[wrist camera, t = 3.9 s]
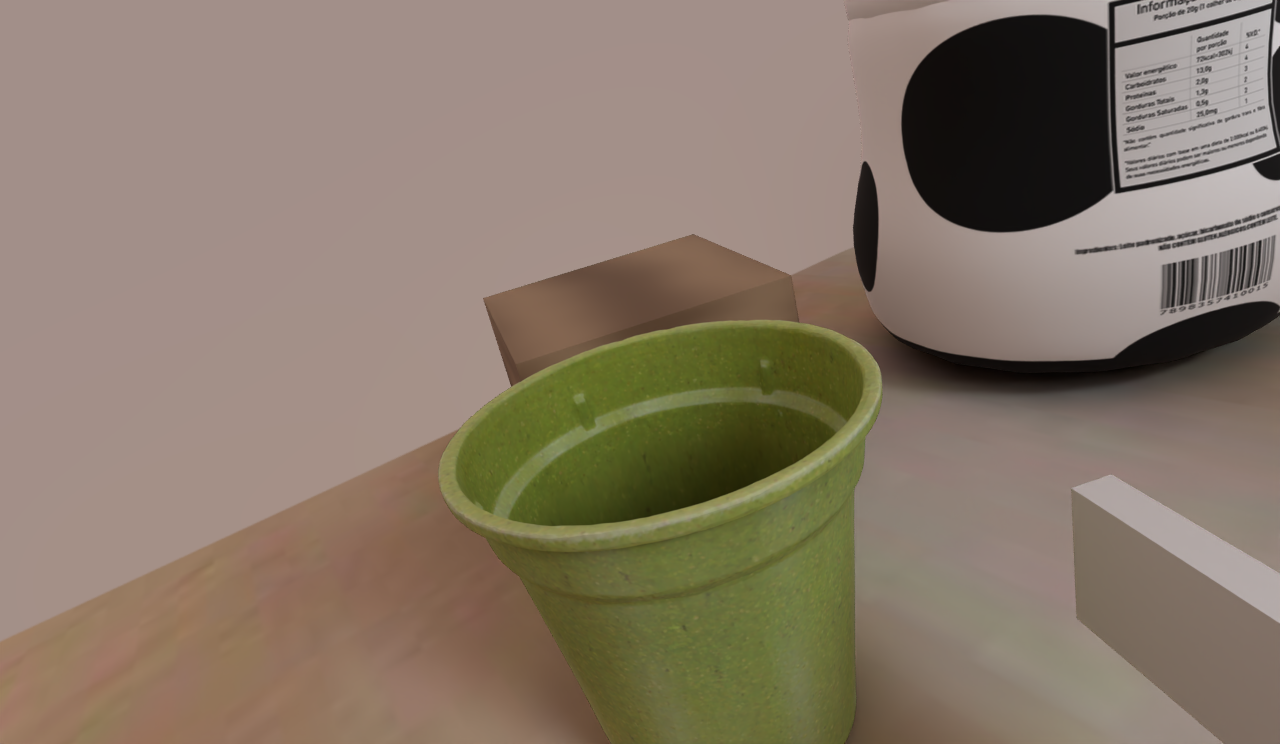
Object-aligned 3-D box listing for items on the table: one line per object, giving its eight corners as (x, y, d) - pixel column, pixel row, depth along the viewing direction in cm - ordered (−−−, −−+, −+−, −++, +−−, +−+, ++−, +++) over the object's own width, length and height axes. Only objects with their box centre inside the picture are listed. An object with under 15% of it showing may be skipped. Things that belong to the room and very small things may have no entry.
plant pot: (513, 914, 17) (365, 571, 14) (575, 613, 25) (493, 360, 22) (983, 869, 15) (940, 477, 12) (879, 567, 24) (838, 290, 21)
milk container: (967, 254, 48) (937, -87, 41) (1357, 260, 35) (1403, -227, 29) (796, 379, 38) (720, -49, 31) (1261, 447, 25) (1299, -243, 19)
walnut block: (722, 371, 40) (693, 234, 38) (820, 449, 31) (791, 275, 29) (527, 437, 38) (483, 298, 36) (571, 541, 29) (515, 364, 27)
